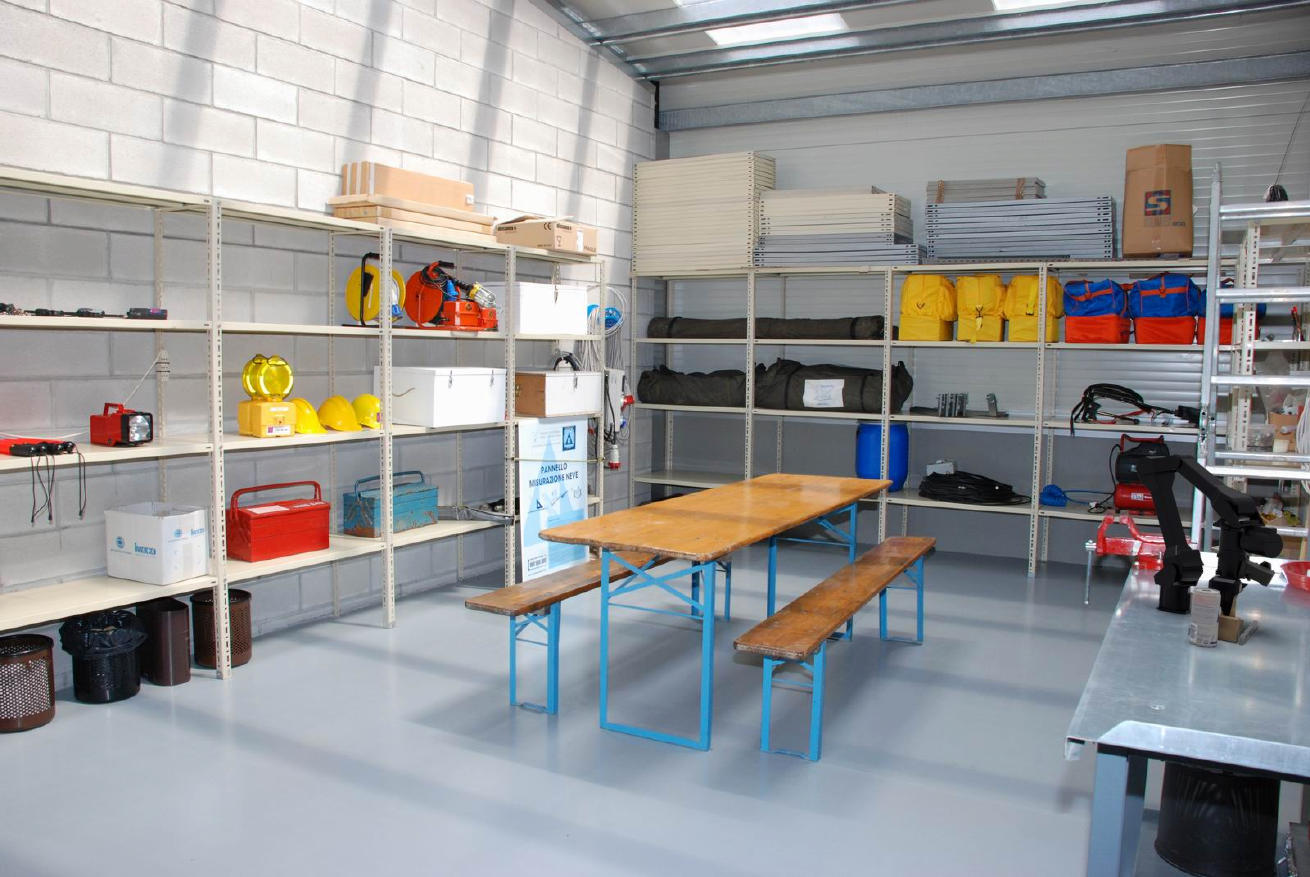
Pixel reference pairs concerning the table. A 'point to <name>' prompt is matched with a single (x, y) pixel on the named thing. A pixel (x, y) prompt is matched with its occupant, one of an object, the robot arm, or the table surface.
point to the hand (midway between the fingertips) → (1227, 614)
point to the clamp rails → (1246, 633)
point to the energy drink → (1205, 617)
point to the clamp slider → (1229, 625)
